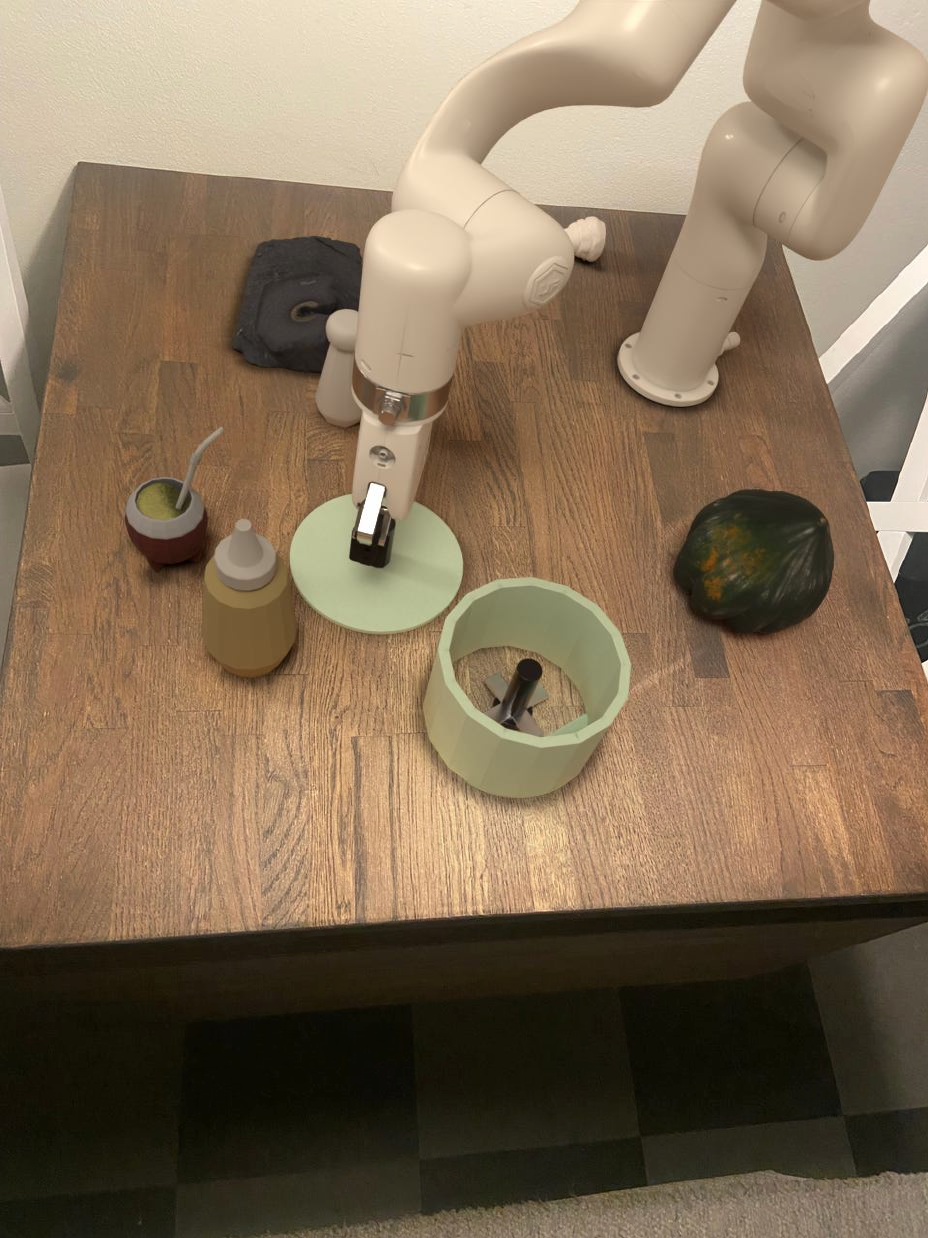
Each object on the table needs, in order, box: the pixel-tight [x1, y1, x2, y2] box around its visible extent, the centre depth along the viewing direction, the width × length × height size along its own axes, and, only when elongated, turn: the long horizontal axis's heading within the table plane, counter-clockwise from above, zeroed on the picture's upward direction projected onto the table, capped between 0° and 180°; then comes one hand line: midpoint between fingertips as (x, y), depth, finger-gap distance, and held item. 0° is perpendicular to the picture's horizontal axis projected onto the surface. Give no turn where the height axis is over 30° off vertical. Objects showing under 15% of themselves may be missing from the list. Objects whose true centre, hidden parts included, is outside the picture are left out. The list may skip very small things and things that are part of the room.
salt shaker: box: [314, 309, 362, 429], centre depth 94 cm, size 6×6×13 cm
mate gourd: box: [124, 425, 225, 574], centre depth 80 cm, size 8×8×15 cm
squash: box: [672, 488, 835, 634], centre depth 90 cm, size 14×15×15 cm
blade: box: [482, 657, 550, 737], centre depth 79 cm, size 7×7×8 cm
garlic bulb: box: [563, 216, 607, 263], centre depth 120 cm, size 6×6×5 cm
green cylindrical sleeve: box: [422, 576, 632, 799], centre depth 78 cm, size 16×16×10 cm
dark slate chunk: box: [232, 235, 363, 374], centre depth 106 cm, size 15×22×5 cm
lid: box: [289, 493, 464, 636], centre depth 87 cm, size 17×17×7 cm
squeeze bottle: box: [200, 518, 298, 678], centre depth 75 cm, size 8×8×18 cm
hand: (380, 521), depth 83 cm, fingers open, 9 cm apart
